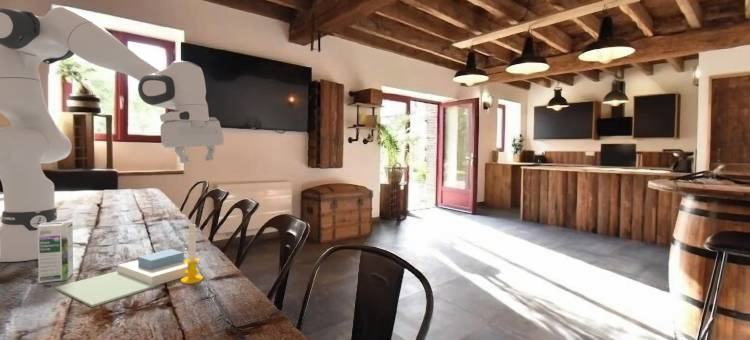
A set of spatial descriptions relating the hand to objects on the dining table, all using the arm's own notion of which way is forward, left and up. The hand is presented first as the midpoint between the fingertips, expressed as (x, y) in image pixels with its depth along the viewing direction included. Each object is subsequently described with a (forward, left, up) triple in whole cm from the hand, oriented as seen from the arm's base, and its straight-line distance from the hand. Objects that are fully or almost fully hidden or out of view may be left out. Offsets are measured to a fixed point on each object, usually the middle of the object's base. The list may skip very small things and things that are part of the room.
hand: (197, 161), depth 108 cm
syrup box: (-15, -29, -31) cm, 45 cm away
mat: (+2, -26, -31) cm, 40 cm away
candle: (+14, -11, -31) cm, 36 cm away
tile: (+2, -12, -28) cm, 31 cm away
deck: (+2, -13, -31) cm, 33 cm away
